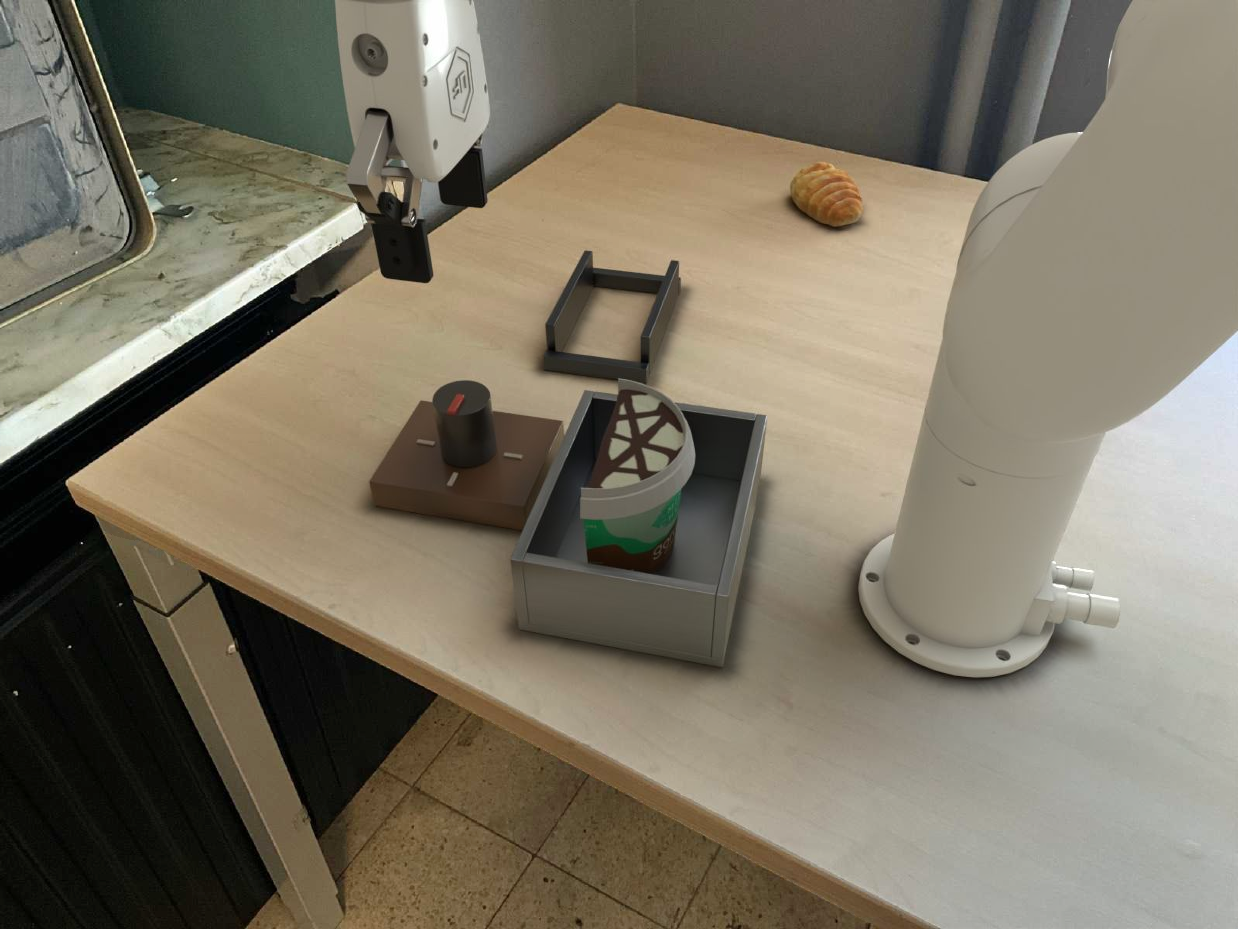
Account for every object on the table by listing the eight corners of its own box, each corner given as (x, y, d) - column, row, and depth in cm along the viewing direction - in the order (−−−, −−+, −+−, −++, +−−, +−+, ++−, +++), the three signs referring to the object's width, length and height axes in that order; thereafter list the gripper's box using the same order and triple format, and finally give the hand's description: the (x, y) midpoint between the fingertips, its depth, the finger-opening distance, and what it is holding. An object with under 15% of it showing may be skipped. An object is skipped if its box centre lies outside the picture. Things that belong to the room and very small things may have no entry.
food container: (676, 617, 65) (680, 507, 59) (584, 603, 66) (578, 494, 60) (702, 490, 74) (708, 383, 68) (621, 480, 75) (619, 373, 69)
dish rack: (680, 290, 97) (681, 254, 94) (646, 383, 86) (646, 345, 83) (589, 279, 99) (587, 243, 96) (543, 370, 87) (540, 331, 85)
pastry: (877, 224, 106) (883, 191, 104) (820, 235, 105) (824, 202, 102) (836, 186, 113) (840, 154, 110) (781, 196, 111) (784, 164, 109)
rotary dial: (565, 444, 80) (563, 418, 78) (527, 531, 73) (524, 505, 71) (424, 423, 82) (420, 398, 80) (374, 506, 75) (368, 479, 73)
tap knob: (453, 428, 78) (444, 373, 74) (504, 436, 77) (497, 380, 73) (432, 463, 74) (422, 407, 71) (485, 471, 74) (478, 415, 70)
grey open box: (759, 484, 76) (767, 414, 72) (722, 668, 63) (729, 597, 59) (587, 458, 79) (584, 389, 74) (518, 629, 66) (509, 559, 61)
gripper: (394, 3, 46) (443, 320, 57) (513, -90, 58) (534, 185, 69) (246, -7, 47) (323, 304, 58) (393, -95, 59) (433, 175, 71)
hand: (437, 239), depth 64 cm, fingers open, 9 cm apart
